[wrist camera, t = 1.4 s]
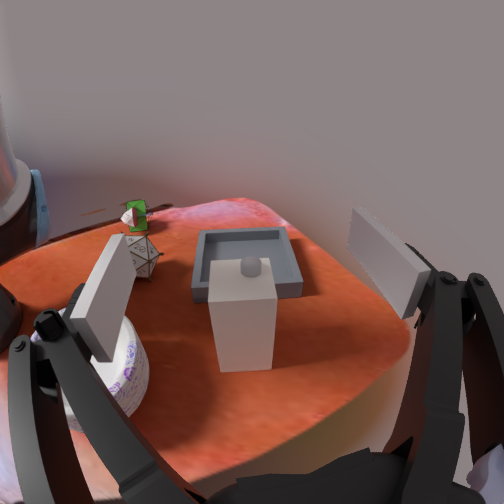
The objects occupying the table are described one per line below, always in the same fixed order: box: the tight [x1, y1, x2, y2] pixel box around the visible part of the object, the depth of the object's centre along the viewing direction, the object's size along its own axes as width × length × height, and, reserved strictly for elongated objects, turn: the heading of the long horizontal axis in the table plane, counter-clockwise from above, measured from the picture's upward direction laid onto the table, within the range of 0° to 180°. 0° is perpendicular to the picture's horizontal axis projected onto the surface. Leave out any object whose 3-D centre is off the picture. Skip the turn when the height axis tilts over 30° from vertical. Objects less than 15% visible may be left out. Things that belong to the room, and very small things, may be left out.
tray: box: [191, 227, 303, 303], centre depth 46 cm, size 16×16×3 cm
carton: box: [208, 256, 277, 372], centre depth 29 cm, size 6×6×13 cm
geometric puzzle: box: [121, 200, 153, 232], centre depth 57 cm, size 7×7×8 cm
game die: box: [121, 232, 164, 282], centre depth 43 cm, size 9×8×10 cm
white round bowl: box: [30, 308, 150, 433], centre depth 25 cm, size 15×15×8 cm
